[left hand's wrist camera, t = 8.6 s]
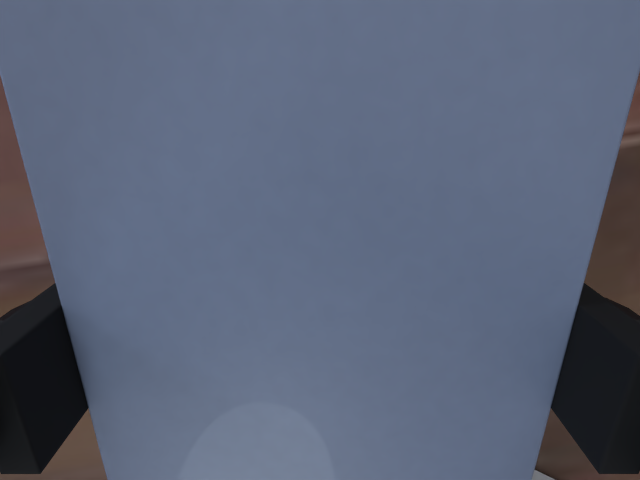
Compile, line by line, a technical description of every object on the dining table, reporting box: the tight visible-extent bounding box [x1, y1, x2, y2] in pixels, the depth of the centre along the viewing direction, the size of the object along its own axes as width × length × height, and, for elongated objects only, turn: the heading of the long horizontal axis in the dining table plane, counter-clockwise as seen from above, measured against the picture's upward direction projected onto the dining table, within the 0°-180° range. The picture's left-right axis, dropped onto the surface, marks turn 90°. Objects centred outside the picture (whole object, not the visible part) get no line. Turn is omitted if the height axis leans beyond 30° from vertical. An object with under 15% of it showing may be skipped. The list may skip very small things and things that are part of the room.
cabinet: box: [0, 0, 640, 480], centre depth 11 cm, size 22×11×9 cm, turn 0°
